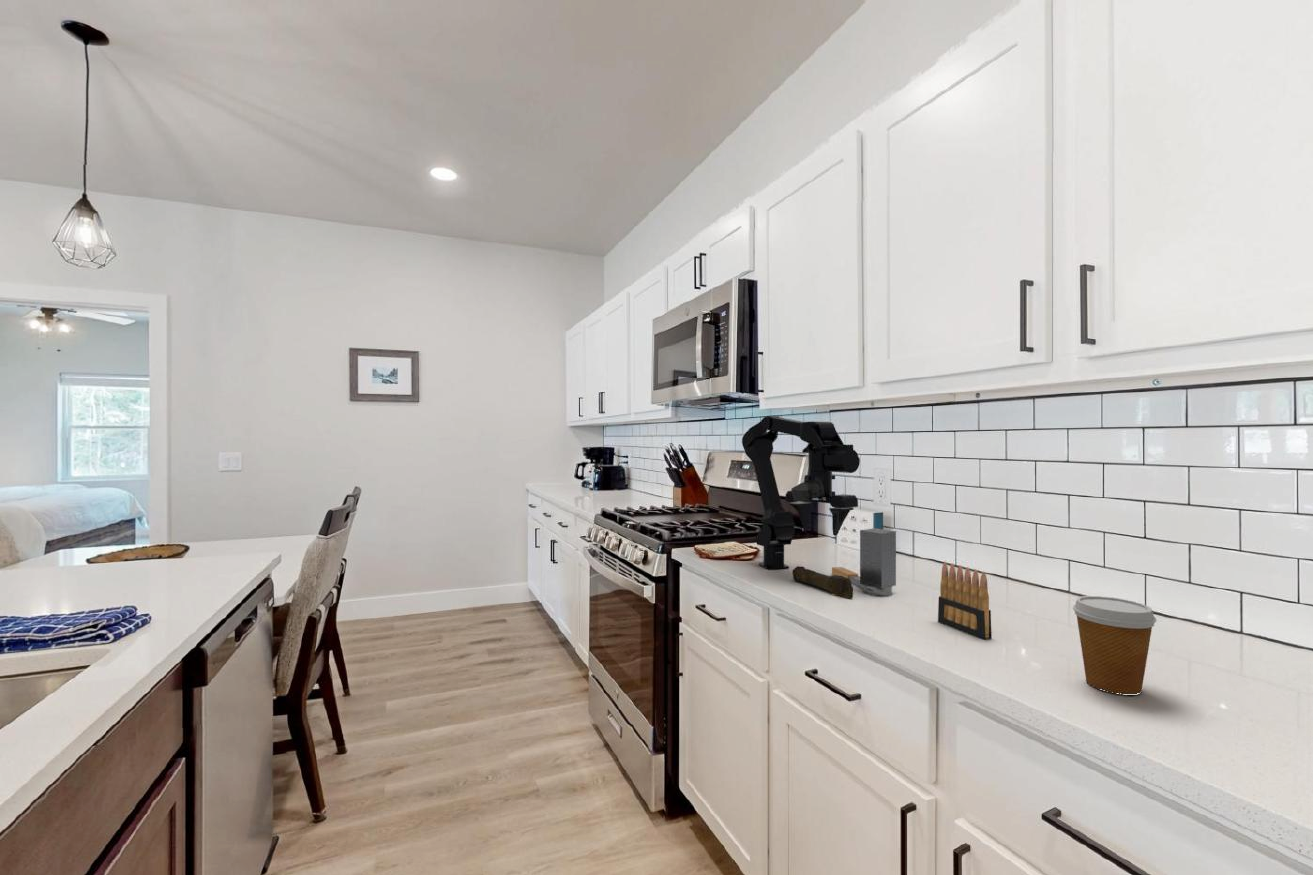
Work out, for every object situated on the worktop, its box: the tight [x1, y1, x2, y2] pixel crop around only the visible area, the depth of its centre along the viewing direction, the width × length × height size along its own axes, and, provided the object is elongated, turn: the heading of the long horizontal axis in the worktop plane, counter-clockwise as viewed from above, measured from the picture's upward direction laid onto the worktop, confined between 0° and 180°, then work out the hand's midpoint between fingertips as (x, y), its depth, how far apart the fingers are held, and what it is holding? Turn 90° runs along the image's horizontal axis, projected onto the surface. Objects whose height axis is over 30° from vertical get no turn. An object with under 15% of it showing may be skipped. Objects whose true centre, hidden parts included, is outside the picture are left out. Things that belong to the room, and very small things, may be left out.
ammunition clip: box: [937, 561, 993, 641], centre depth 108 cm, size 11×2×12 cm, turn 19°
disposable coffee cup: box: [1072, 595, 1158, 694], centre depth 84 cm, size 10×10×12 cm
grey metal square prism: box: [859, 528, 897, 589], centre depth 134 cm, size 6×6×12 cm
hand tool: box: [792, 565, 854, 599], centre depth 137 cm, size 19×4×5 cm, turn 22°
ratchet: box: [831, 566, 893, 598], centre depth 142 cm, size 22×6×5 cm, turn 12°
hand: (820, 533), depth 146 cm, fingers open, 9 cm apart
